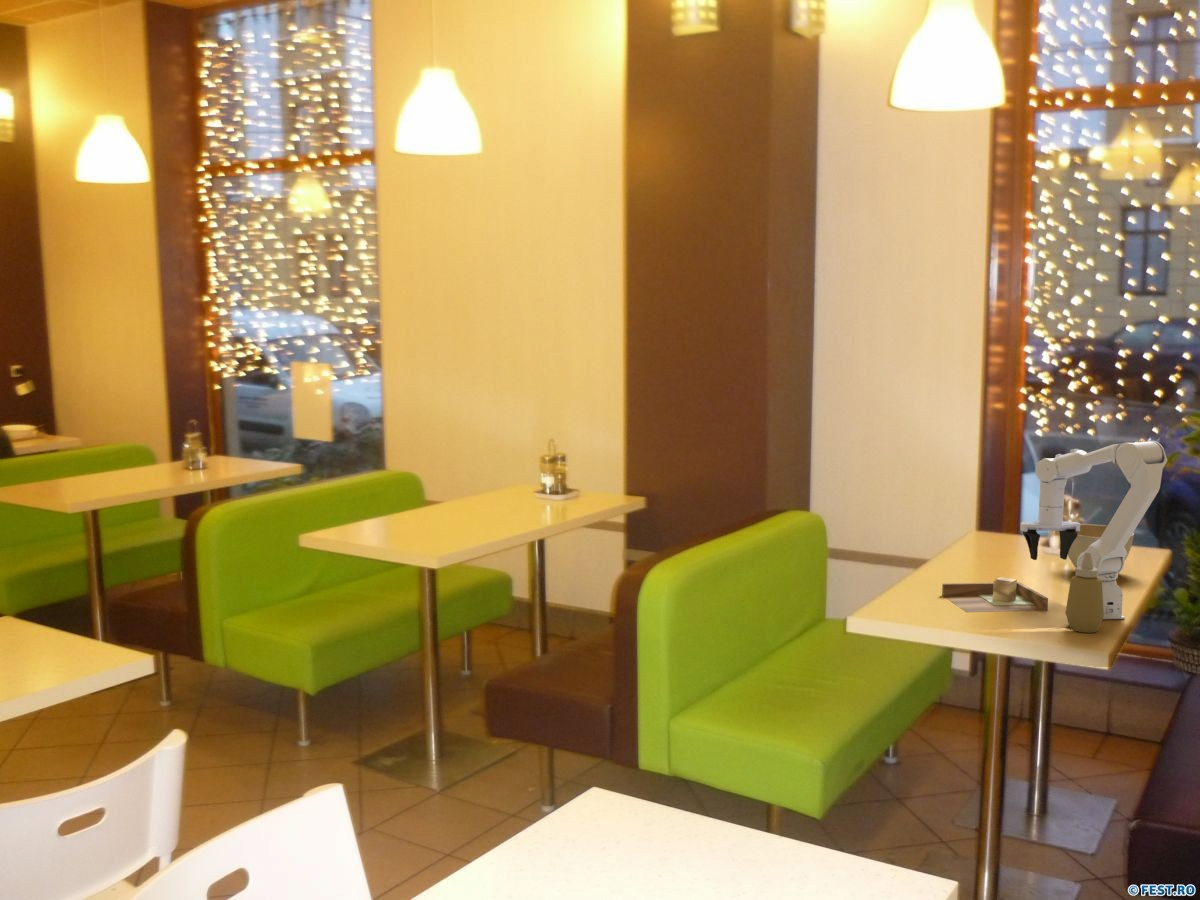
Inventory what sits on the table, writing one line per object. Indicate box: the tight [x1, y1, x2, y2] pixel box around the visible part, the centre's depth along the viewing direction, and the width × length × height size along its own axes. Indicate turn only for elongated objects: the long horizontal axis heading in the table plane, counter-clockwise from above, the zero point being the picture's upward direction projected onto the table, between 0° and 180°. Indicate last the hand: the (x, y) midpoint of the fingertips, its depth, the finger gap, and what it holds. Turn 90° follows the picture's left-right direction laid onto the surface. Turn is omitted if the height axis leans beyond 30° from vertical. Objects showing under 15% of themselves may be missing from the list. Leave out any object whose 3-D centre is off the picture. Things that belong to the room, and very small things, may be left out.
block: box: [992, 576, 1018, 603], centre depth 281 cm, size 4×4×5 cm
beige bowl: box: [1067, 524, 1135, 569], centre depth 312 cm, size 18×18×12 cm
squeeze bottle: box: [1065, 552, 1104, 633], centre depth 257 cm, size 8×8×18 cm
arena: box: [941, 581, 1049, 613], centre depth 279 cm, size 16×20×4 cm
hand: (1048, 558), depth 284 cm, fingers open, 7 cm apart
